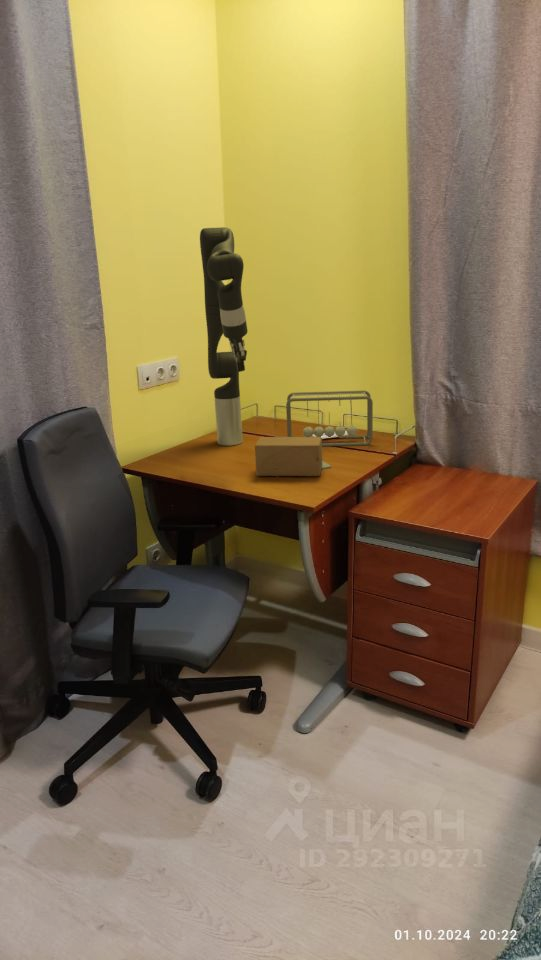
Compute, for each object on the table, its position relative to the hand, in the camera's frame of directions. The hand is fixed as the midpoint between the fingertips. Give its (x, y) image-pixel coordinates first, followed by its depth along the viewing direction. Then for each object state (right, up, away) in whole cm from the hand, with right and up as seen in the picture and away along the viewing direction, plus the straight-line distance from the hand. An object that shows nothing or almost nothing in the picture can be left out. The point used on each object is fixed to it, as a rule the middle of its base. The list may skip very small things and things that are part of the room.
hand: (241, 370), depth 226 cm
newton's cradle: (+31, -22, +30) cm, 48 cm away
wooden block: (+5, -27, -1) cm, 28 cm away
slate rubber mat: (+17, -30, +7) cm, 35 cm away
